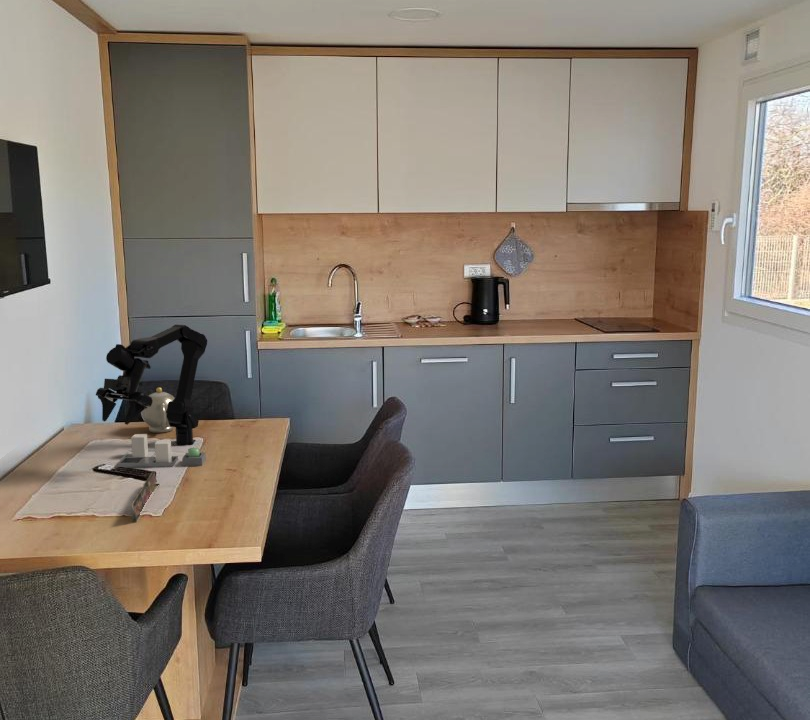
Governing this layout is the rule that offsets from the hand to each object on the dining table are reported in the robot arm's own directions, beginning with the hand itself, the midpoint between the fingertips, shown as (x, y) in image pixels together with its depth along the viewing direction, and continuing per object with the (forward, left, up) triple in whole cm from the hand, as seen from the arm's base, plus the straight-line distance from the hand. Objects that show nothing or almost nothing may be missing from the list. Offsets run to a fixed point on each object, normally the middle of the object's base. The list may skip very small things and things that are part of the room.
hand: (114, 422), depth 248 cm
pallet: (-1, +9, -15) cm, 17 cm away
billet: (-11, +4, -14) cm, 19 cm away
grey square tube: (-1, +24, -15) cm, 28 cm away
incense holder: (+32, +17, -15) cm, 39 cm away
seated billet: (-1, +14, -14) cm, 20 cm away
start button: (-1, +24, -13) cm, 27 cm away
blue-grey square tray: (-11, +4, -15) cm, 19 cm away
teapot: (-45, +3, -15) cm, 48 cm away
